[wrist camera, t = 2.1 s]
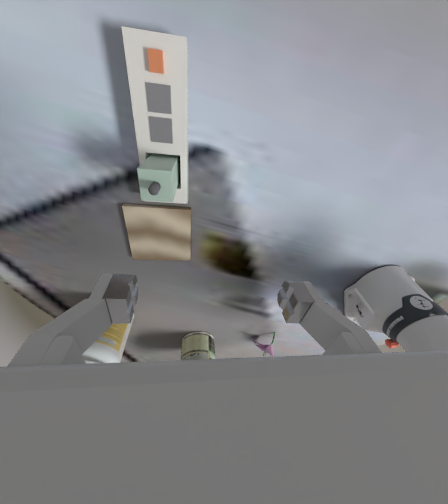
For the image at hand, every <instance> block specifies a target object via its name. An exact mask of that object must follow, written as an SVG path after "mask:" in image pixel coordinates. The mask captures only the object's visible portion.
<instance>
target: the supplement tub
mask: <svg viewBox="0 0 448 504" xmlns="http://www.w3.org/2000/svg"><path fill="white" fill-rule="evenodd" d="M133 319H134V314H133V317H132V320H131V323H129V324H112V325H111V326H110V327H109V328H108V329H107V330H106V331H105V332H104V333H103V334H102V335H101V336H100V337H99V338H98V339H97V340H96V341H95V342H94V343H93V344H92V345H91V346H90V347H89V348H88V349H87V350H86V351H85V352H84V353H83V354H82V356H83V358H84V360H85V362H86V364H93V363H120V361H121V358H122V354H123V351H124V348H125V345H126V341H127V338H128V335H129V332H130V329H131V325H132V322H133Z"/></svg>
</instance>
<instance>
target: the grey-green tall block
mask: <svg viewBox="0 0 448 504" xmlns="http://www.w3.org/2000/svg"><path fill="white" fill-rule="evenodd" d="M137 172H138V179H139V187H140V194H141V200H143V201H159V202H173V200H174V196H175V193H176V190H177V186H178V183H179V155H168V154H157V153H152V154H151V155H150V156H149V157H148V158H147V159H146V160H145V161H144V162H143V163H142V164H141V165H140V166H139V167H138V168H137Z"/></svg>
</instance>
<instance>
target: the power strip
mask: <svg viewBox="0 0 448 504" xmlns="http://www.w3.org/2000/svg"><path fill="white" fill-rule="evenodd" d="M121 27H122V35H123V42H124V50H125V57H126V65H127V72H128V80H129V87H130V95H131V103H132V110H133V118H134V125H135V133H136V140H137V148H138V156H139V163H140V165H141V164H142V163H143V162H144V161H145V160H146V159H147V158H148V157H149V156H150V153H157V154H168V155H179V156H180V169H181V183H178V186H177V190H176V193H175V196H174V200H173V202H166V203H183V204H187V202H188V42H187V37H183V36H177V35H171V34H165V33H159V32H153V31H147V30H141V29H135V28H129V27H123V26H121ZM150 202H159V201H150Z"/></svg>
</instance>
